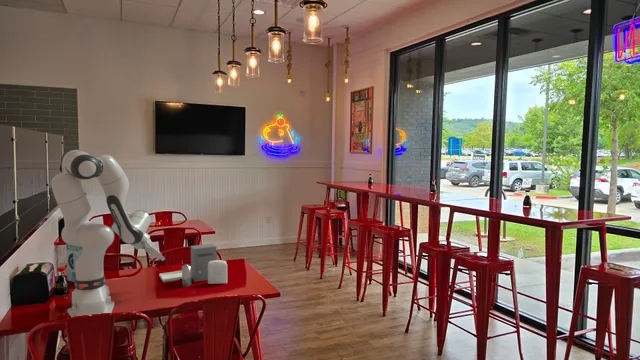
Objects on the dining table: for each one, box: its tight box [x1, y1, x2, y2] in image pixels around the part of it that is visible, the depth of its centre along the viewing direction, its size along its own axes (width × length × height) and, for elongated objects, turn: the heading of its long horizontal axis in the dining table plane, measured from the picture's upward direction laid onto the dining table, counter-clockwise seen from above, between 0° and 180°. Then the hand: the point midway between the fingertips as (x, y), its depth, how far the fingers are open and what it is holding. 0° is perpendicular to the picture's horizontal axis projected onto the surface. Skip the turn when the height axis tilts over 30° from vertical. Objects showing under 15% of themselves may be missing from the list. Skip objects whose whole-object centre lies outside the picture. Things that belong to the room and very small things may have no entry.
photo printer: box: [207, 259, 228, 285], centre depth 230 cm, size 10×4×12 cm, turn 98°
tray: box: [158, 270, 182, 283], centre depth 241 cm, size 12×14×2 cm
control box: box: [190, 243, 218, 283], centre depth 239 cm, size 9×12×18 cm
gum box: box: [65, 242, 83, 283], centre depth 233 cm, size 20×5×23 cm, turn 66°
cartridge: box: [181, 264, 192, 287], centre depth 227 cm, size 5×5×11 cm
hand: (162, 257), depth 221 cm, fingers open, 8 cm apart
